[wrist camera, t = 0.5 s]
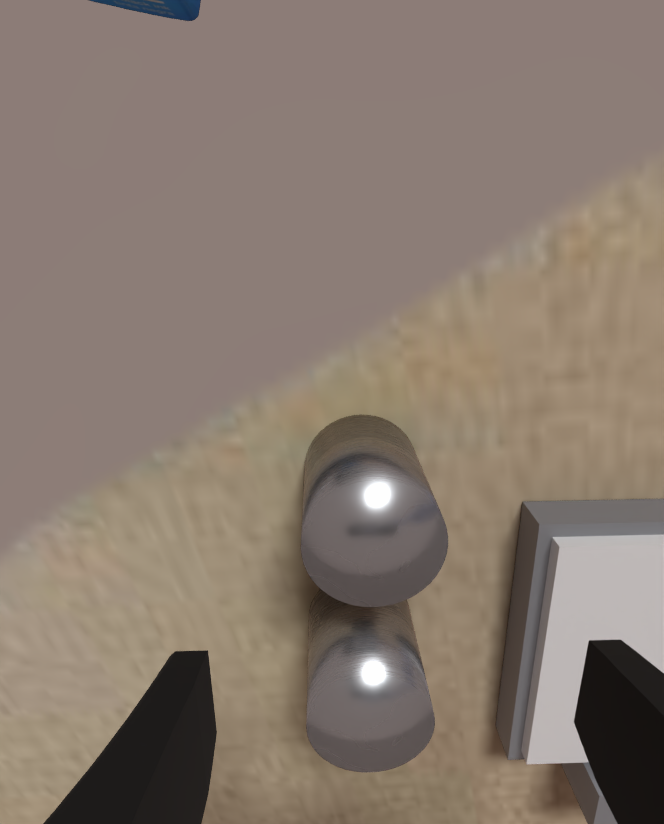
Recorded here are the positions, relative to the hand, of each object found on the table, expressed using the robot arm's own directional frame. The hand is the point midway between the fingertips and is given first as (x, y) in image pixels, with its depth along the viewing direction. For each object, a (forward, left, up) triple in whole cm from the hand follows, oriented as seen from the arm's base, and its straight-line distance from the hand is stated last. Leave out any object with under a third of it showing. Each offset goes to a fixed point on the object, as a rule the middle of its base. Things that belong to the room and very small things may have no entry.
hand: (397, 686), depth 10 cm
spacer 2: (0, +6, -10) cm, 12 cm away
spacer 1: (0, 0, -10) cm, 10 cm away
